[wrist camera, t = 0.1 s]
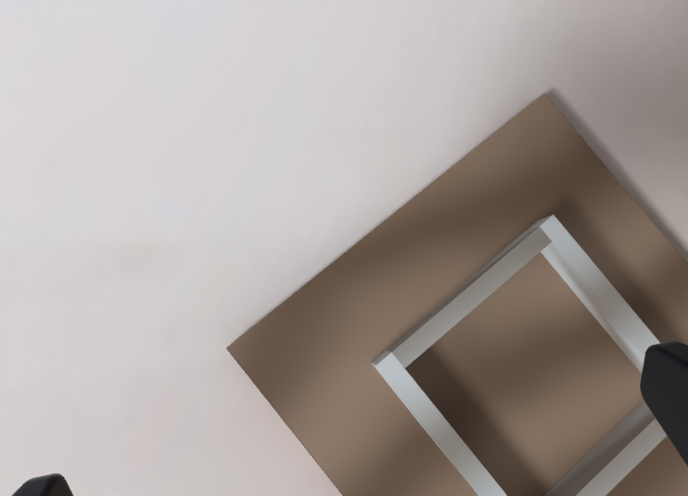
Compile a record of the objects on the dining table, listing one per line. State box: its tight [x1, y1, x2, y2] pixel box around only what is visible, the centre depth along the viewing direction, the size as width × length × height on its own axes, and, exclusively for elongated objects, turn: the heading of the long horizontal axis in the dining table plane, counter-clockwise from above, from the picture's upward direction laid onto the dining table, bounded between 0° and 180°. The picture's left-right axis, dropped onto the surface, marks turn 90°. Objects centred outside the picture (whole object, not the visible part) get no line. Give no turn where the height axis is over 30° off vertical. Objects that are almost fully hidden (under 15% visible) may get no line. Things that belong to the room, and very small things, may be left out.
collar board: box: [226, 93, 688, 496], centre depth 22 cm, size 18×18×2 cm
